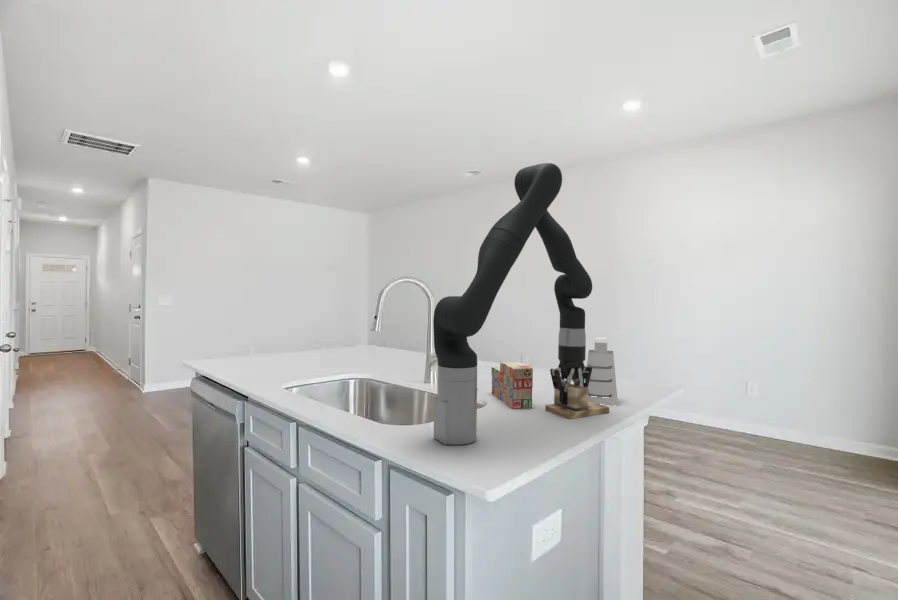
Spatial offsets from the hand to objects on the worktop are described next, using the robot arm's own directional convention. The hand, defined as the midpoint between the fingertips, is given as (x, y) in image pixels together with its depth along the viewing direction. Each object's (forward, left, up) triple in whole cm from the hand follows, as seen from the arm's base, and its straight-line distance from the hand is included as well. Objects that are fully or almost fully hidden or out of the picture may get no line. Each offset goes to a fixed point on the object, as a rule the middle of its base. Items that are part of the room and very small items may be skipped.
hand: (570, 403), depth 132 cm
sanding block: (0, 0, -1) cm, 1 cm away
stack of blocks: (-7, +20, -3) cm, 21 cm away
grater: (+18, +7, -3) cm, 20 cm away
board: (+2, 0, -3) cm, 4 cm away
